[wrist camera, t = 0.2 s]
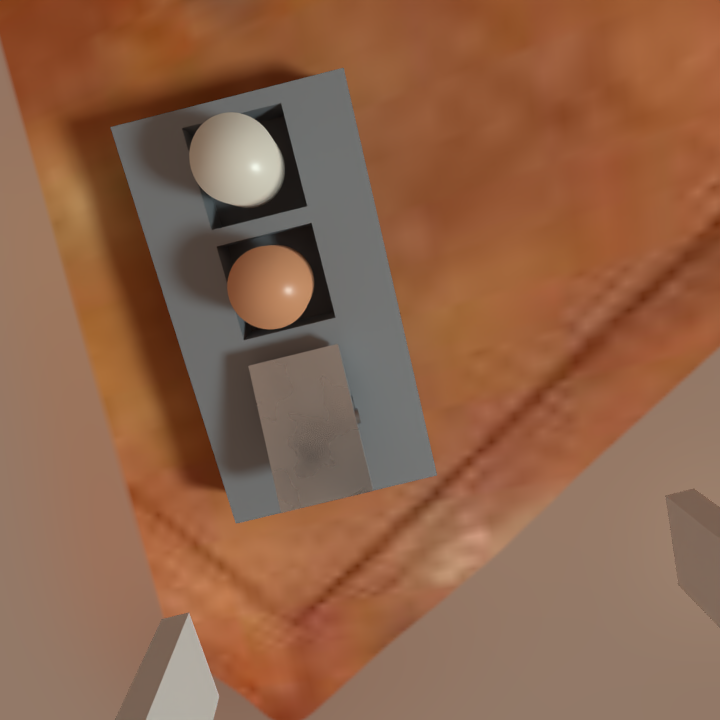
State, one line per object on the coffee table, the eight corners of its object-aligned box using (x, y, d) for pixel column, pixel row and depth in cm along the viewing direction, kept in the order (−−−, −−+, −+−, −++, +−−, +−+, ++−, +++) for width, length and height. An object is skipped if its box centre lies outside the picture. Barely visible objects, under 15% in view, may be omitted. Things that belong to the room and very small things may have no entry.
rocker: (251, 368, 37) (245, 366, 35) (342, 346, 37) (340, 343, 35) (282, 509, 36) (277, 513, 34) (376, 486, 36) (376, 489, 34)
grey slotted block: (137, 140, 38) (101, 123, 32) (343, 87, 38) (343, 61, 32) (246, 494, 43) (232, 532, 38) (427, 450, 43) (439, 482, 38)
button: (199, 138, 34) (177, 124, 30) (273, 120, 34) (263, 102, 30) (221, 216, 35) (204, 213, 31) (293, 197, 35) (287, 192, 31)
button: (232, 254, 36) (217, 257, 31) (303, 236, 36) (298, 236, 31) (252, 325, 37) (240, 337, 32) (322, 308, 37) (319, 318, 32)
